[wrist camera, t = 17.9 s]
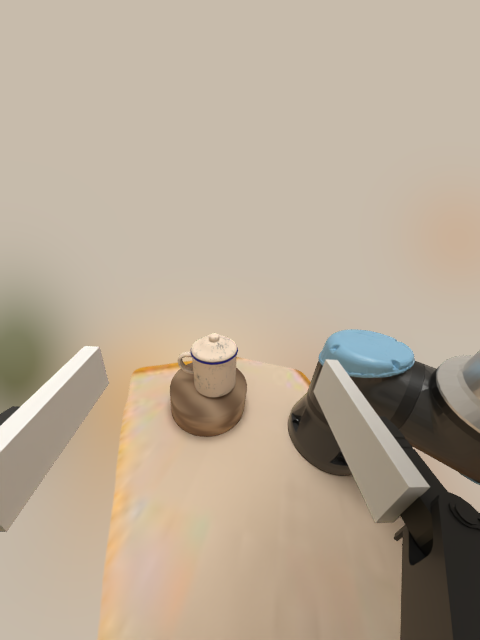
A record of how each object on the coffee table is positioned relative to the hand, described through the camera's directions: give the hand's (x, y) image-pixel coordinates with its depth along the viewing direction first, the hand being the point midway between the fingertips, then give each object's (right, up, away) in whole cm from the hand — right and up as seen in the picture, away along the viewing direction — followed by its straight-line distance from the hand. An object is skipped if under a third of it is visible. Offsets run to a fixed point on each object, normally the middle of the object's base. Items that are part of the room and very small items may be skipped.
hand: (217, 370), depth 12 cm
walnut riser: (-6, -16, +34) cm, 38 cm away
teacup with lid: (-5, -10, +32) cm, 34 cm away
